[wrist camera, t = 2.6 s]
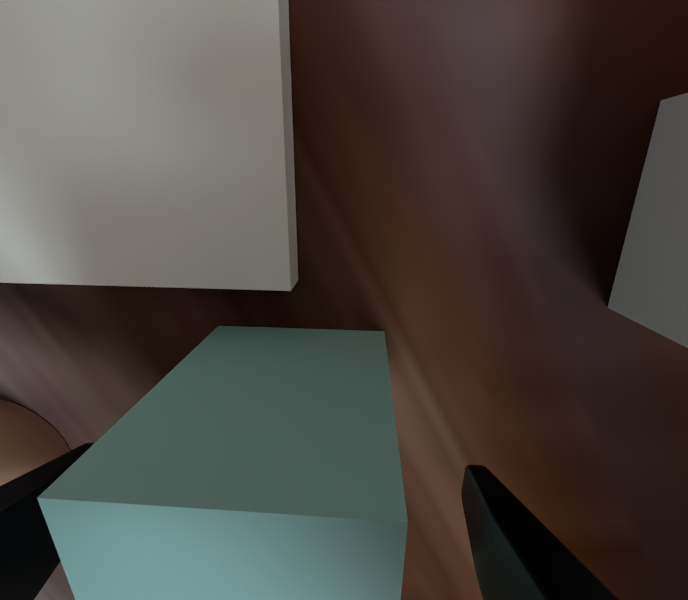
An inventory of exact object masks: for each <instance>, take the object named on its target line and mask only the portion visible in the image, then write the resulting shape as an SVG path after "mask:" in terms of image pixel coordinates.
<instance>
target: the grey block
mask: <svg viewBox="0 0 688 600" xmlns="http://www.w3.org/2000/svg"><path fill="white" fill-rule="evenodd" d="M608 308H610V309H612V310H614V311H616V312H617V313H619V314H621V315H623V316H625V317H627V318H629V319H631V320H633V321H635V322H637V323H639V324H641V325H643V326H645V327H647V328H649V329H651V330H653V331H655V332H657V333H659V334H661V335H663V336H665V337H667V338H669V339H671V340H673V341H675V342H677V343H679V344H681V345H683V346H685V347H687V348H688V93H685V94H681V95H678V96H674V97H671V98H668V99H664V100H661V102H660V105H659V109H658V113H657V117H656V121H655V125H654V129H653V133H652V136H651V140H650V144H649V148H648V152H647V156H646V160H645V164H644V167H643V171H642V175H641V179H640V183H639V187H638V191H637V195H636V199H635V202H634V206H633V210H632V214H631V218H630V222H629V226H628V230H627V233H626V237H625V241H624V245H623V249H622V253H621V257H620V261H619V264H618V268H617V272H616V276H615V280H614V284H613V288H612V292H611V296H610V299H609V303H608Z"/></svg>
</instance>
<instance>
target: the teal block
mask: <svg viewBox="0 0 688 600" xmlns="http://www.w3.org/2000/svg"><path fill="white" fill-rule="evenodd" d="M37 499H38V502H39V505H40V507H41V510H42V512H43V515H44V518H45V520H46V523H47V526H48V528H49V531H50V534H51V536H52V539H53V542H54V544H55V547H56V550H57V552H58V555H59V558H60V560H61V563H62V566H63V568H64V571H65V574H66V576H67V579H68V581H69V584H70V587H71V589H72V592H73V595H74V597H75V600H400V599H401V589H402V578H403V568H404V557H405V546H406V536H407V525H408V520H407V512H406V504H405V495H404V487H403V479H402V471H401V463H400V454H399V446H398V438H397V430H396V422H395V414H394V405H393V397H392V389H391V381H390V373H389V365H388V356H387V348H386V340H385V332H384V331H360V330H331V329H301V328H272V327H242V326H218V327H217V328H216V329H215V330H213V331H212V332H211V333H210V334H209V335H208V336H207V337H206V338H205V339H204V340H203V341H202V342H201V343H200V344H199V345H198V346H197V347H196V348H195V349H193V350H192V351H191V352H190V353H189V354H188V355H187V356H186V357H185V358H184V359H183V360H182V361H181V362H180V363H179V364H178V365H177V366H176V367H175V368H173V369H172V370H171V371H170V372H169V373H168V374H167V375H166V376H165V377H164V378H163V379H162V380H161V381H160V382H159V383H158V384H157V385H156V386H154V387H153V388H152V389H151V390H150V391H149V392H148V393H147V394H146V395H145V396H144V397H143V398H142V399H141V400H140V401H139V402H138V403H137V404H136V405H134V406H133V407H132V408H131V409H130V410H129V411H128V412H127V413H126V414H125V415H124V416H123V417H122V418H121V419H120V420H119V421H118V422H117V423H116V424H114V425H113V426H112V427H111V428H110V429H109V430H108V431H107V432H106V433H105V434H104V435H103V436H102V437H101V438H100V439H99V440H98V441H97V442H95V443H94V444H93V445H92V446H91V447H90V448H89V449H88V450H87V451H86V452H85V453H84V454H83V455H82V456H81V457H80V458H79V459H78V460H77V461H75V462H74V463H73V464H72V465H71V466H70V467H69V468H68V469H67V470H66V471H65V472H64V473H63V474H62V475H61V476H60V477H59V478H58V479H57V480H55V481H54V482H53V483H52V484H51V485H50V486H49V487H48V488H47V489H46V490H45V491H44V492H43V493H42V494H41V495H40V496H39V497H38V498H37Z"/></svg>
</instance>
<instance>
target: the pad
mask: <svg viewBox="0 0 688 600" xmlns="http://www.w3.org/2000/svg"><path fill="white" fill-rule="evenodd" d="M297 282H298V257H297V229H296V201H295V173H294V145H293V117H292V89H291V61H290V33H289V5H288V0H0V283H30V284H65V285H100V286H136V287H171V288H206V289H241V290H276V291H291V290H292V289H293V287H294V286H295V284H296V283H297Z"/></svg>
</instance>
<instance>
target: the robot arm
mask: <svg viewBox="0 0 688 600" xmlns="http://www.w3.org/2000/svg"><path fill="white" fill-rule="evenodd" d="M93 444H94V443H86V444H83V445H81V446H79V447H77V448H75V449H73V450H71V451H69V452H67V453H65V454H63V455H61V456H59V457H57V458H55V459H53V460H51V461H49V462H47V463H45V464H43V465H41V466H39V467H37V468H35V469H33V470H31V471H29V472H27V473H25V474H23V475H21V476H19V477H17V478H15V479H13V480H11V481H9V482H7V483H5V484H3V485H1V486H0V600H34V599H35V597H36V596H37V594H38V593H39V591H40V590H41V589H42V587H43V586H44V584H45V583H46V581H47V580H48V578H49V577H50V576H51V574H52V573H53V571H54V570H55V568H56V567H57V565H58V564H59V563H60V561H61V560H60V558H59V555H58V552H57V550H56V547H55V544H54V542H53V539H52V536H51V534H50V531H49V528H48V526H47V523H46V520H45V518H44V515H43V512H42V510H41V507H40V505H39V502H38V499H37V498H38V497H39V496H40V495H41V494H42V493H43V492H44V491H45V490H46V489H47V488H48V487H49V486H50V485H51V484H52V483H53V482H54V481H55V480H57V479H58V478H59V477H60V476H61V475H62V474H63V473H64V472H65V471H66V470H67V469H68V468H69V467H70V466H71V465H72V464H73V463H74V462H75V461H77V460H78V459H79V458H80V457H81V456H82V455H83V454H84V453H85V452H86V451H87V450H88V449H89V448H90V447H91V446H92V445H93ZM462 503H463V508H464V514H465V519H466V524H467V529H468V534H469V540H470V545H471V550H472V555H473V560H474V565H475V570H476V575H477V578H478V582H479V586H480V590H481V593H482V596H483V600H618V599H617V598H616V597H615V596H614V595H613V594H612V593H611V592H610V591H609V590H608V589H607V588H606V587H605V586H604V585H603V584H602V583H601V582H600V581H599V580H598V579H597V578H596V577H595V576H594V575H593V574H592V573H591V572H590V571H589V570H588V569H587V568H586V567H585V566H584V565H583V564H582V563H581V562H580V561H579V560H578V559H577V558H576V557H575V556H574V555H573V554H572V553H571V552H570V551H569V550H568V549H567V548H566V547H565V546H564V545H563V544H562V543H561V542H560V541H559V540H558V539H557V538H556V537H555V536H554V535H553V534H552V533H551V532H550V531H549V530H548V529H547V528H546V527H545V526H544V525H543V524H542V523H541V522H540V521H539V520H538V519H537V518H536V517H535V516H534V515H533V514H532V513H531V512H530V511H529V510H528V509H527V508H526V507H525V506H524V505H523V504H522V503H521V502H520V501H519V500H518V499H517V498H516V497H515V496H514V495H513V494H512V493H511V492H510V491H509V490H508V489H507V488H506V487H505V486H504V485H503V484H502V483H501V482H500V481H499V480H498V479H497V478H496V477H495V476H494V475H493V474H492V473H491V472H490V471H489V470H488V469H487V468H486V467H485V466H482V465H467V466H466V468H465V473H464V479H463V485H462Z"/></svg>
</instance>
